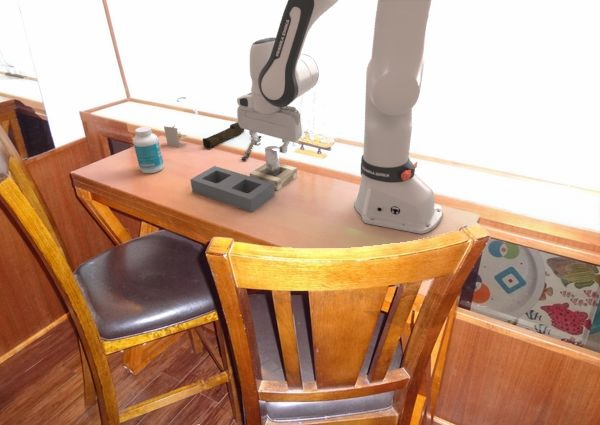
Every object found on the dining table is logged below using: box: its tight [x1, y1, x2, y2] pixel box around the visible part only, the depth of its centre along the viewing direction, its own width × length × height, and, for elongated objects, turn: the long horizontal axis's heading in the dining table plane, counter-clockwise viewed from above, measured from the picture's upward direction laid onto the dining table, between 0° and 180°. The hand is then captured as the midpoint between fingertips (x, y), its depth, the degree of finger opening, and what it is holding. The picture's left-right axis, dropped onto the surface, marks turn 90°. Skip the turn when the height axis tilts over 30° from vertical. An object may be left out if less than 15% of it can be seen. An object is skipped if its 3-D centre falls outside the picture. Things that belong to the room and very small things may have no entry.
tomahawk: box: [241, 135, 262, 161], centre depth 151 cm, size 21×7×1 cm, turn 172°
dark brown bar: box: [202, 121, 245, 150], centre depth 156 cm, size 19×4×5 cm, turn 140°
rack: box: [189, 165, 275, 213], centre depth 123 cm, size 22×10×4 cm, turn 56°
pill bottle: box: [132, 126, 165, 174], centre depth 136 cm, size 8×7×14 cm
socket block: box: [249, 162, 298, 191], centre depth 130 cm, size 10×10×3 cm
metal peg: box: [264, 145, 281, 177], centre depth 128 cm, size 4×4×10 cm
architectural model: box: [163, 125, 188, 148], centre depth 154 cm, size 3×7×7 cm, turn 65°
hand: (270, 148), depth 126 cm, fingers open, 8 cm apart
